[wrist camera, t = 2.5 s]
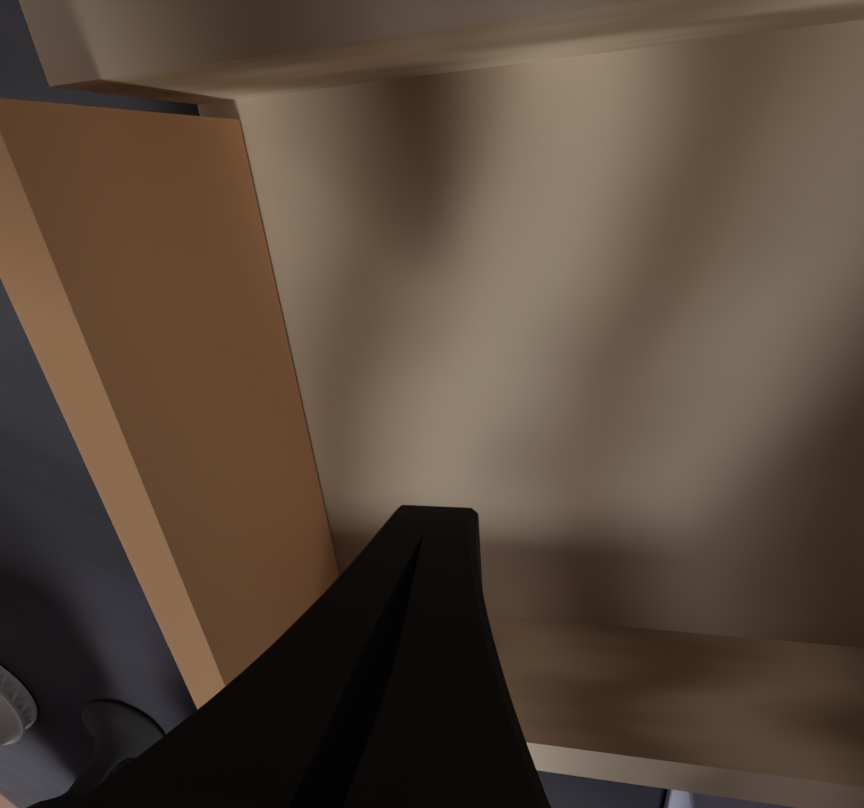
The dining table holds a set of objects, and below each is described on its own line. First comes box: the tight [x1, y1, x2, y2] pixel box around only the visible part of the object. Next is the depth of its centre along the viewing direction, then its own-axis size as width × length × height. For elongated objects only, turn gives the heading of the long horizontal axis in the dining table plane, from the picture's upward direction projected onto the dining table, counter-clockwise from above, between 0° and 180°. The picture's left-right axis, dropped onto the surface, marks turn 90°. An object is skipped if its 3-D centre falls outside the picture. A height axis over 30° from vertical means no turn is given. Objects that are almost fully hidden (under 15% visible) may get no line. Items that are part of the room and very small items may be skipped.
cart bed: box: [19, 0, 864, 808], centre depth 12 cm, size 20×18×5 cm
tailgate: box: [0, 98, 340, 710], centre depth 12 cm, size 2×15×6 cm, turn 5°
